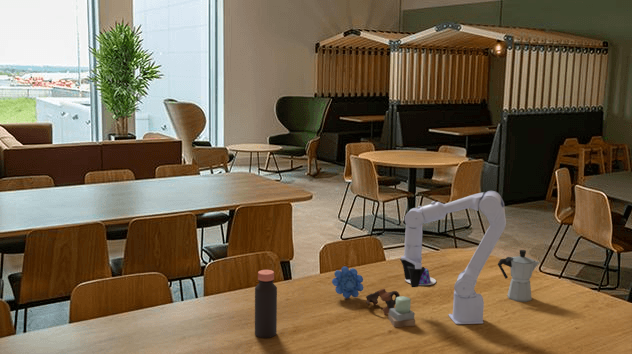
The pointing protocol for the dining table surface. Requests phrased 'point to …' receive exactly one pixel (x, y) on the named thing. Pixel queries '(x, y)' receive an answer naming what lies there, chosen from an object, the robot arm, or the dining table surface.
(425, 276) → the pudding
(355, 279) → the blue flower
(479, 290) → the dining table surface
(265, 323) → the bottle
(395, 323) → the tower base
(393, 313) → the tower top
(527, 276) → the coffee maker
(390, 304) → the pottery mug
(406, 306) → the green cylinder
